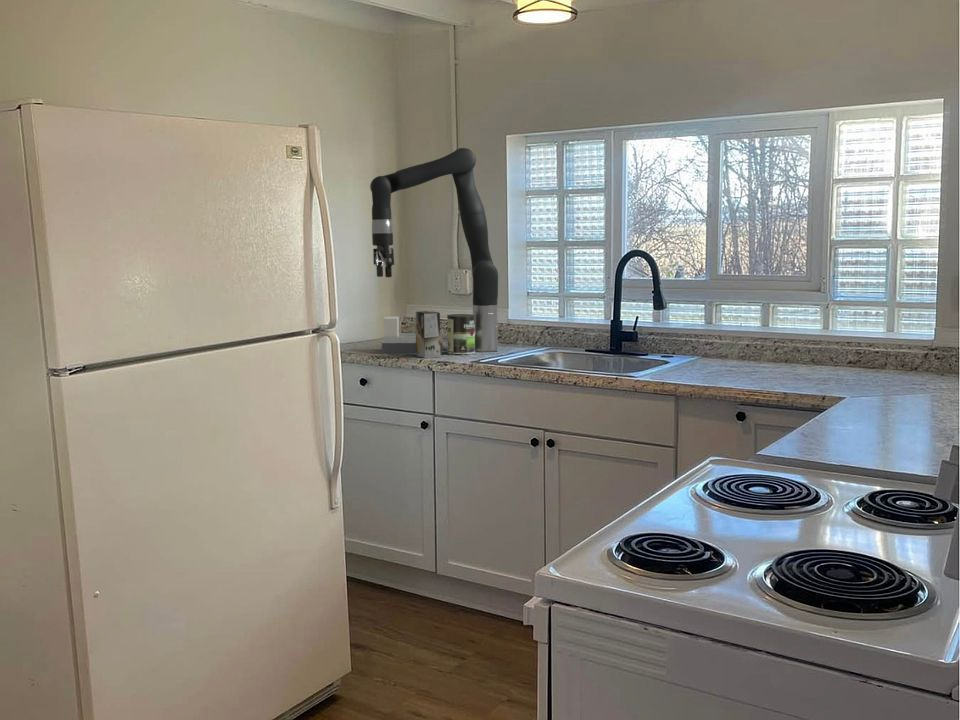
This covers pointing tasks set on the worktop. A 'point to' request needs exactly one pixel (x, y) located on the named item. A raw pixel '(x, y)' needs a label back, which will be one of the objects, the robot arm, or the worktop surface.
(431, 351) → the coffee box
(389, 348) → the rail base
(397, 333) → the block
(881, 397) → the worktop surface
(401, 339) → the rail
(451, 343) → the coffee can
